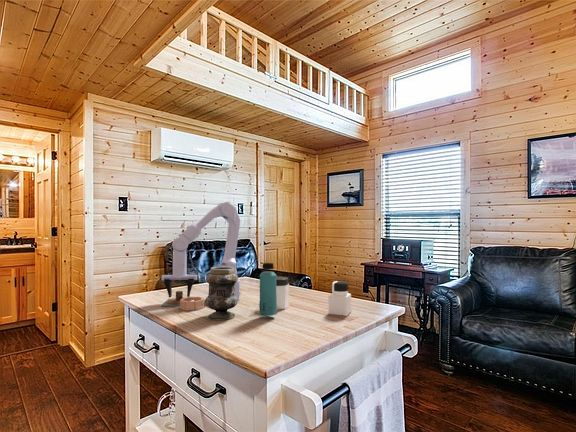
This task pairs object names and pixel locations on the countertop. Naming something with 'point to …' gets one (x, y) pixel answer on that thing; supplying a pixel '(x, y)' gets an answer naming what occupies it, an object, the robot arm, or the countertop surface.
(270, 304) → the beverage bottle
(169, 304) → the mat
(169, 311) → the countertop surface
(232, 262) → the robot arm
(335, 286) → the medicine bottle
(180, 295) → the lid
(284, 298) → the jar
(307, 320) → the countertop surface
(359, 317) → the countertop surface
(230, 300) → the apothecary jar
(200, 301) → the bowl
